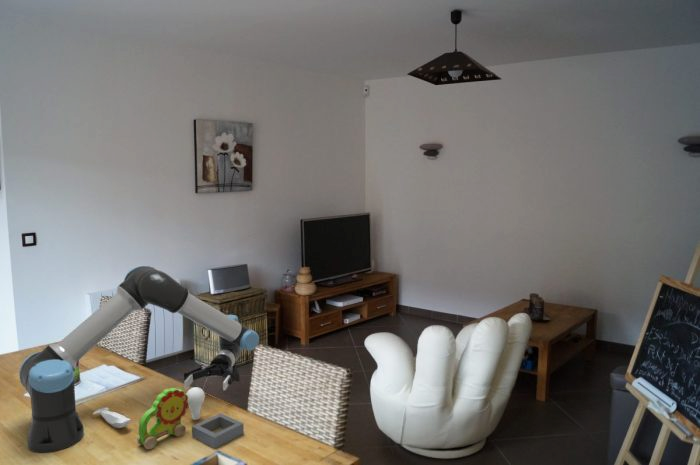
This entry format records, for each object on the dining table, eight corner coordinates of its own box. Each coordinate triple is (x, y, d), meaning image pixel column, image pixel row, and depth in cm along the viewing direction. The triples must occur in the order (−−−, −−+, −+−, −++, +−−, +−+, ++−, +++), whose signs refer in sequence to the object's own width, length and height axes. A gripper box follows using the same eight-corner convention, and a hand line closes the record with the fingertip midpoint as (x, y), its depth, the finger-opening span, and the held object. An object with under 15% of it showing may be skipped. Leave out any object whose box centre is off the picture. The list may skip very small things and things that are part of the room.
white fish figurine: (118, 435, 166) (118, 423, 166) (92, 419, 178) (91, 407, 177) (135, 428, 170) (134, 416, 170) (108, 413, 182) (108, 402, 181)
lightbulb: (208, 415, 179) (207, 384, 178) (201, 424, 173) (200, 392, 172) (190, 415, 180) (189, 383, 178) (183, 423, 174) (181, 391, 172)
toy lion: (146, 452, 157) (143, 403, 155) (136, 446, 160) (133, 397, 158) (192, 431, 169) (190, 385, 167) (182, 426, 172) (180, 381, 170)
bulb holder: (214, 448, 158) (214, 437, 158) (192, 437, 165) (191, 426, 165) (243, 434, 167) (243, 423, 167) (221, 423, 174) (220, 413, 173)
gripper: (254, 373, 206) (240, 397, 185) (191, 371, 207) (169, 395, 186) (254, 354, 205) (240, 376, 184) (190, 353, 206) (168, 374, 185)
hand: (204, 386), depth 185 cm, fingers open, 13 cm apart
